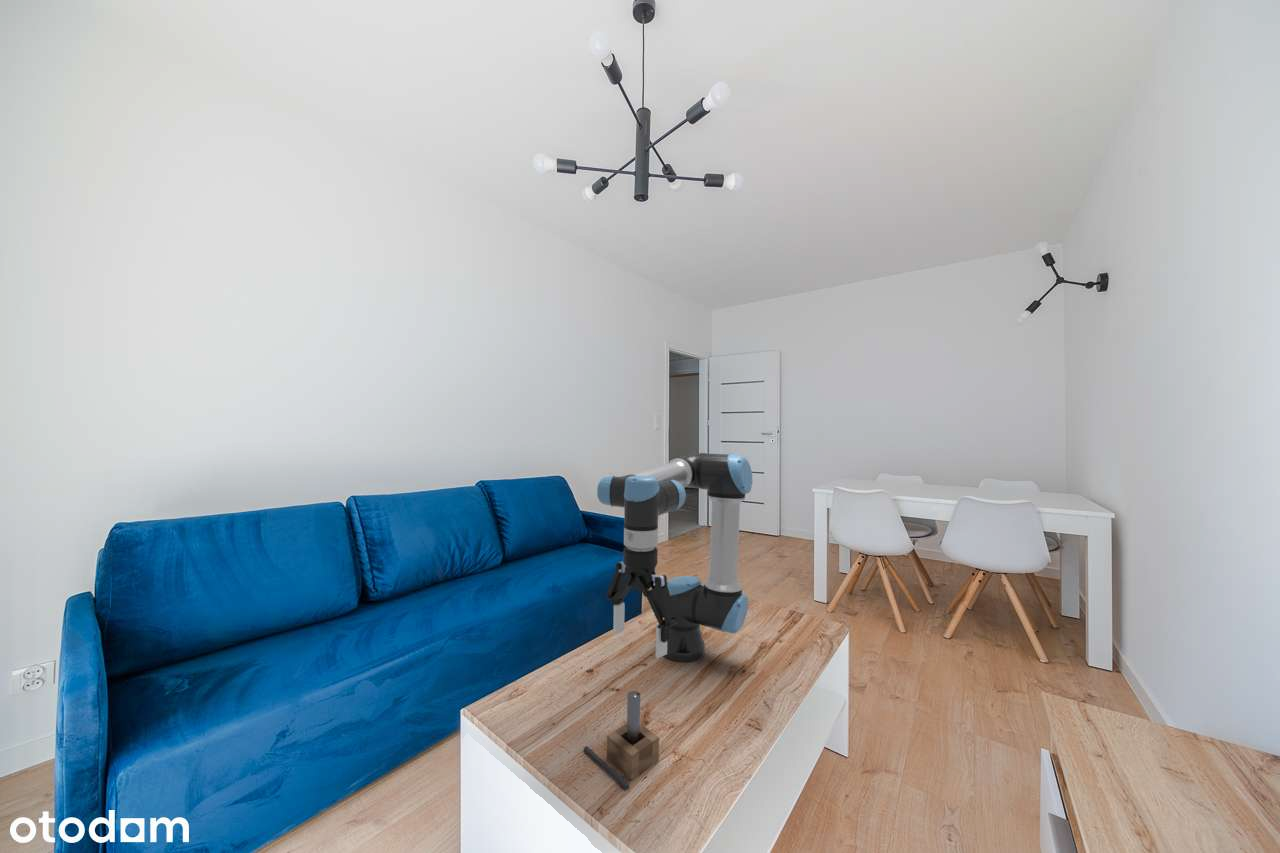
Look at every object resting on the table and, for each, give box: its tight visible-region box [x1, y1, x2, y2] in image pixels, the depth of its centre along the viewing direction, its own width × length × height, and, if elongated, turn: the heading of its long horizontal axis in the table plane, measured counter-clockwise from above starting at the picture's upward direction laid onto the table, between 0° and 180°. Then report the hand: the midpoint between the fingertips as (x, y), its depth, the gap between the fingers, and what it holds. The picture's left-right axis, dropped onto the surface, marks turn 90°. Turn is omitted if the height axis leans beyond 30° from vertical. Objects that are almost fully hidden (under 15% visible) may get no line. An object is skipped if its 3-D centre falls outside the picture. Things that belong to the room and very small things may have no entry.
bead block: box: [606, 722, 660, 781], centre depth 94 cm, size 8×8×5 cm
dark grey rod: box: [583, 745, 630, 791], centre depth 91 cm, size 14×1×1 cm, turn 44°
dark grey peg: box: [626, 690, 641, 746], centre depth 94 cm, size 3×3×14 cm
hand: (638, 643), depth 95 cm, fingers open, 13 cm apart
